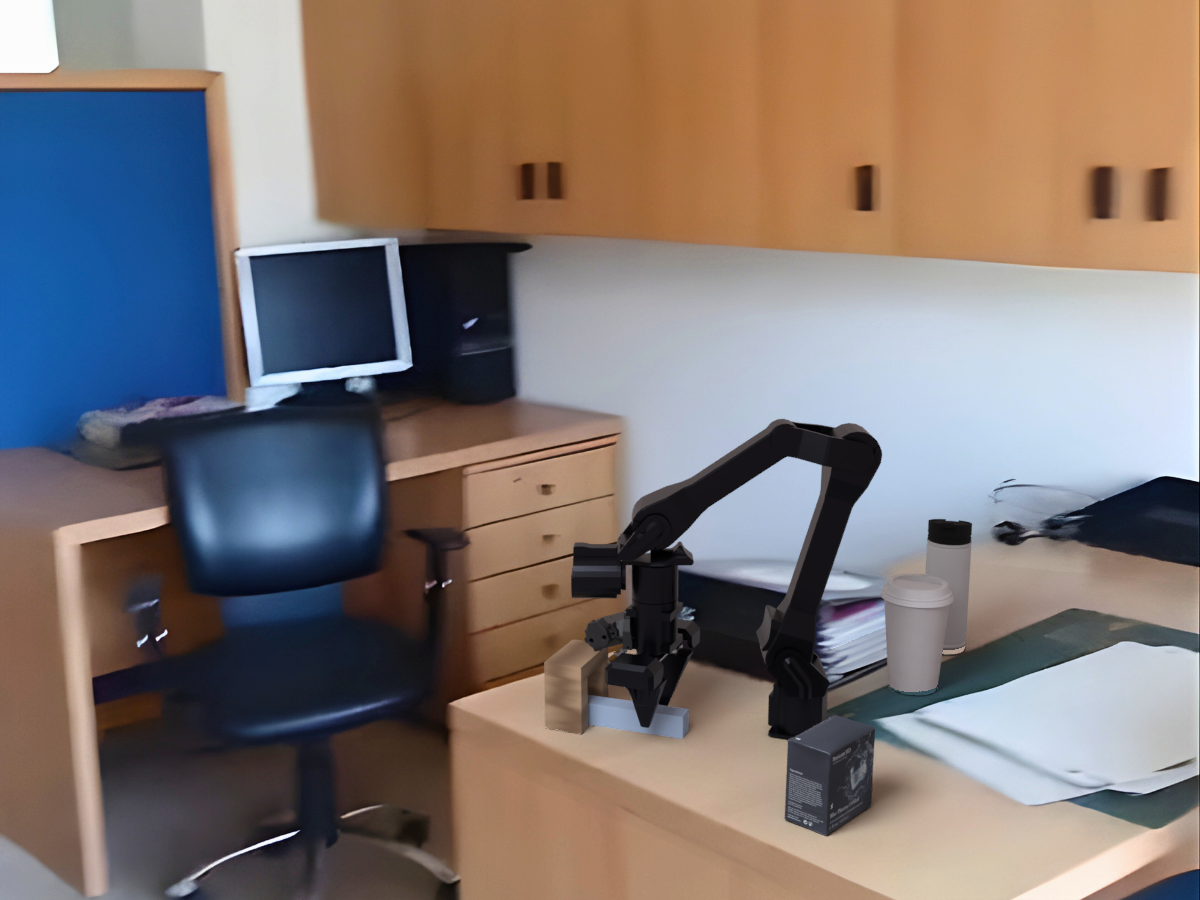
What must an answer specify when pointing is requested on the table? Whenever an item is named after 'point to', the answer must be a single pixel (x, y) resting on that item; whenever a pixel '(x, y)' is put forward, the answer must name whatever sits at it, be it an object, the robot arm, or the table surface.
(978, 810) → the table surface
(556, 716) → the wooden block
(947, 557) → the travel mug
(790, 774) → the box
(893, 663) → the coffee cup
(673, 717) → the light blue rectangular bar
